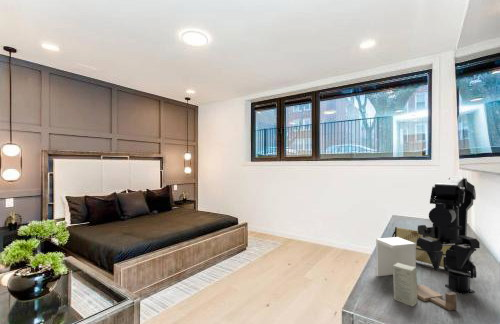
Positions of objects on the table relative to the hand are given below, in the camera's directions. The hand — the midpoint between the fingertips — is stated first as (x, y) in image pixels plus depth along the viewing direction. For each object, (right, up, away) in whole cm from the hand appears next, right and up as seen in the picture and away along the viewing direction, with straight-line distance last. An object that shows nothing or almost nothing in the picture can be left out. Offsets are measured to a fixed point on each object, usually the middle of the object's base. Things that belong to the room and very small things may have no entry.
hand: (447, 268), depth 81 cm
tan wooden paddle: (-1, -13, +6) cm, 14 cm away
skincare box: (-11, -14, +5) cm, 18 cm away
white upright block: (-4, -13, +21) cm, 26 cm away
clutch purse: (+18, -14, +36) cm, 42 cm away
